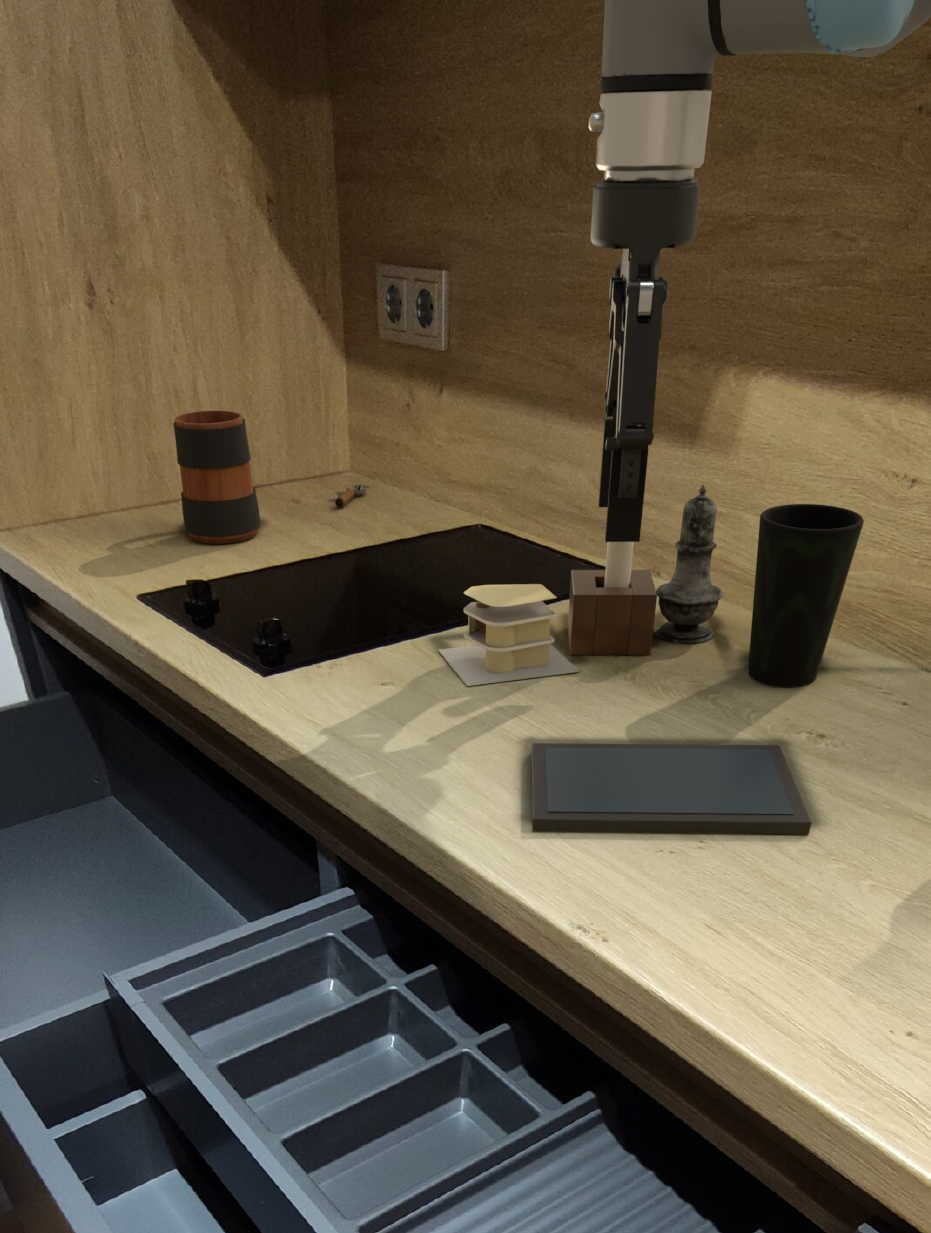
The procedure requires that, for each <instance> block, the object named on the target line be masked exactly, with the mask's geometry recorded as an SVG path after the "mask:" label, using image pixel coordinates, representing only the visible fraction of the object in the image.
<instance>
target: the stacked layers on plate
mask: <svg viewBox="0 0 931 1233" xmlns="http://www.w3.org/2000/svg"><path fill="white" fill-rule="evenodd" d="M463 594H464V595H466V596H468V597H470V598H471V599H474V600H476V601H471V602H470V603H469V604H467V605H466V606H465V607H463V613H464V614H465V615H466V616H467V621H468V622H467V623H468V624H467V625H468V626H467V630H466V631H465V632H463V638H464V639H465V640H467V641H469V642H471V643H473V644H475V645H473V644H472V645H466V646H456V647H448V648H442V649H441V648H440V649H437V651H438V652H439V654H441V656H442V657H443V659H445V661H446V662H447V663H448V664H449V665H450V667H451V668H452V669H453V670H454V672H455V673H456V675H458V676H459V678H460V679H461V680H462V682H463V683H464V684H465V685H466V687H471V686H480V685H487V684H493V683H503V682H510V681H517V680H525V679H533V678H534V679H535V678H542V677H549V676H556V675H557V676H558V675H566V674H574V673H580V672H581V671H580V670H579V669H578V668H576V666H574V665H573V663H572V662H571V661H569V660H568V659H567V658H566V657H565V656H564V655H563V654H562V653H561V652H560V651H559V650H558V649H557V648H556V647H555V646H554V645H553V643H555V637H553V635H552V634H551V620H552V619H555V618H556V617H557V613H556V612H555V611H554V610H553V609H551V608H550V607H549V606H548V605H547V604H546V603H545V602H544V601H548V600H553V599H557V598H558V597H557V596H556V595H555V594H553V593H552V592H551V591H550V590H549V589H548V588H546V587H545V586H544V585H543V584H541V583H527V584H526V583H523V584H520V583H519V584H516V583H515V584H481V585H473V586H470V587H469V588H468V589H466V590H465V591H464V592H463Z"/></svg>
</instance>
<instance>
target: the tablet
mask: <svg viewBox="0 0 931 1233" xmlns="http://www.w3.org/2000/svg"><path fill="white" fill-rule="evenodd" d="M530 754H531V758H530V759H531V760H530V762H531V763H530V764H531V765H530V768H531V821H532V822H531V827H532V828H531V830H532V832H559V833H560V832H563V833H564V832H565V833H566V832H567V833H569V832H571V833H643V834H644V833H646V834H647V833H651V834H654V833H655V834H656V833H658V834H663V833H664V834H724V835H725V834H727V835H728V834H730V835H732V834H733V835H739V834H740V835H742V834H743V835H809V834H810V831H811V827H812V820H811V818H810V815H809V813H808V810H807V808H806V805H805V803H804V801H803V798H802V796H801V793H800V791H799V788H798V786H797V784H796V781H795V779H794V776H793V773H792V771H791V768H790V766H789V764H788V762H787V759H786V757H785V755H784V752H783V750H782V747H781V745H780V744H712V743H711V744H710V743H709V744H707V743H705V744H704V743H702V744H700V743H699V744H697V743H572V742H571V743H567V742H566V743H562V742H559V743H558V742H557V743H556V742H552V743H551V742H532V743H531V751H530Z"/></svg>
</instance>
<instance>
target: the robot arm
mask: <svg viewBox="0 0 931 1233" xmlns="http://www.w3.org/2000/svg"><path fill="white" fill-rule="evenodd" d="M603 16H604V17H603V34H602V35H603V38H602V58H601V75H600V82H599V93H601V94H600V96H599V103H598V104H599V106H600V108H601V110H602V112H594V113H593V112H592V113H591V114H590V116H589V119H588V129H589V131H590V132H594V133H597V132H600V135H599V136H598V138H597V140H596V151H595V152H596V155H595V166H596V168H597V169H598V171H603V180H598V181H596V186H593V189H592V205H591V222H590V241H591V243H592V245H594V246H595V247H597V248H600V249H609V250H622V256H621V262H617V263H616V265H615V266H616V267H615V268H614V273H613V274H614V275H613V276H611V277H610V282H609V283H610V284H609V290H608V292H609V296H608V298H609V306H610V313H609V321H608V323H609V324H608V329H609V330H608V334H609V339H610V341H609V342H610V344H609V352H608V353H609V354H608V364H607V377H606V386H605V387H606V388H605V391H604V392H603V400H604V401H605V402H604V413H605V417H606V418H605V419H604V424H603V438H602V449H601V450H602V451H601V463H600V464H601V466H600V479H599V493H598V508H607V511H606V523H605V536H604V539H605V540H604V542H605V543H608V542H634V543H640V541H641V540H640V539H641V531H642V523H643V522H642V520H643V510H644V501H645V491H646V480H647V468H648V461H649V460H648V458H649V446H651V445H652V443H653V440H654V437H655V431H654V418H655V404H656V394H657V393H656V392H657V379H658V365H659V364H658V363H659V352H660V351H659V350H660V342H661V339H662V329H663V328H662V327H663V310H664V308H665V305H666V302H667V297H668V279H665V276H663V275H659V274H660V263H661V262H660V256H661V250H662V249H676V248H684V247H686V246H689V245H691V243H693V241H694V240H695V237H696V229H697V220H698V210H699V201H700V194H701V185H700V184H699V180H698V179H696V178H694V176H695V169H700V168H701V167H702V165H703V164H704V163H705V155H706V145H707V137H708V128H709V117H710V111H711V110H710V109H711V101H712V90H711V89H712V84H713V73H714V72H713V71H714V66H715V60H716V56H723V57H730V56H731V57H732V56H734V57H735V56H737V55H764V54H765V55H767V54H768V55H769V54H775V55H776V54H816V55H835V56H838V55H839V56H840V55H841V56H848V57H851V58H854V59H860V60H863V61H866V60H865V59H866V58H868V57H875V56H877V55H879V54H881V53H884V52H886V51H887V50H889V49H891V48H893V47H894V46H895V45H896V44H897V43H899V42H900V41H902V40H903V39H904V38H905V37H907V36H908V35H909V34H911V33H912V32H913V31H915V30H916V29H917V28H919V27H920V26H921V25H922V24H924V23H925V22H926V21H928V19H929V18H930V17H931V0H604V15H603ZM863 57H864V58H863Z"/></svg>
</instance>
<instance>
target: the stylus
mask: <svg viewBox="0 0 931 1233" xmlns="http://www.w3.org/2000/svg"><path fill="white" fill-rule="evenodd" d="M634 543H635V542H607V543H606V544H607V547H606V557H605V569H604V570H605V581H604V588H630V577H631V570H632V566H633V555H634V546H635V545H634Z"/></svg>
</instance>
